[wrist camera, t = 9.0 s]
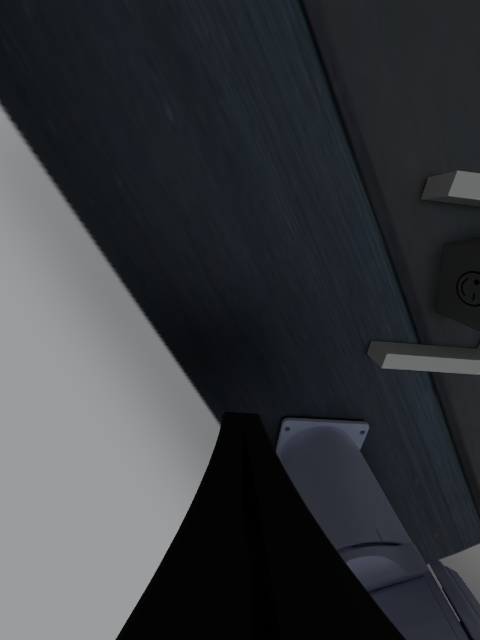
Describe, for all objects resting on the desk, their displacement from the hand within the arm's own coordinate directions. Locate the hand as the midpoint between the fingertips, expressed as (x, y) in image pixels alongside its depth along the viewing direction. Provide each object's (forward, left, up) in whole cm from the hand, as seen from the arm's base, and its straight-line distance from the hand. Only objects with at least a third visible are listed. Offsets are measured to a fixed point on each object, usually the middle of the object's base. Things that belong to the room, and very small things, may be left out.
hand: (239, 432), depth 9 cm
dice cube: (+6, -17, -10) cm, 20 cm away
